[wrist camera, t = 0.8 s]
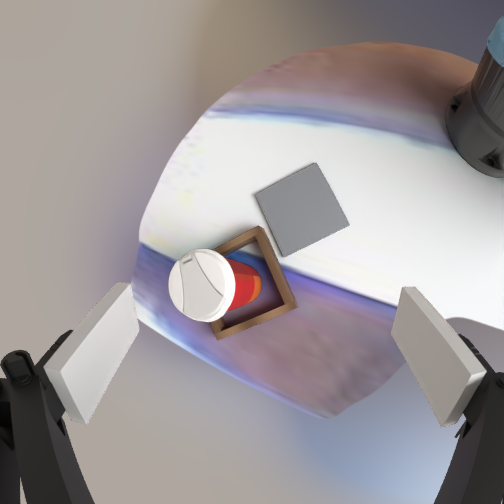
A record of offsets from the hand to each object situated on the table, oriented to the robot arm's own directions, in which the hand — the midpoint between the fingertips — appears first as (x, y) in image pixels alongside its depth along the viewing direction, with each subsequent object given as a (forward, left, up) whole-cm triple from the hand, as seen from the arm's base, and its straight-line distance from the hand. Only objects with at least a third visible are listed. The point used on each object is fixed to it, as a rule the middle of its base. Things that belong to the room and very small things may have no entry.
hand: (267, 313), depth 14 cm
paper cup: (+10, -6, -28) cm, 30 cm away
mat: (-2, -12, -28) cm, 30 cm away
